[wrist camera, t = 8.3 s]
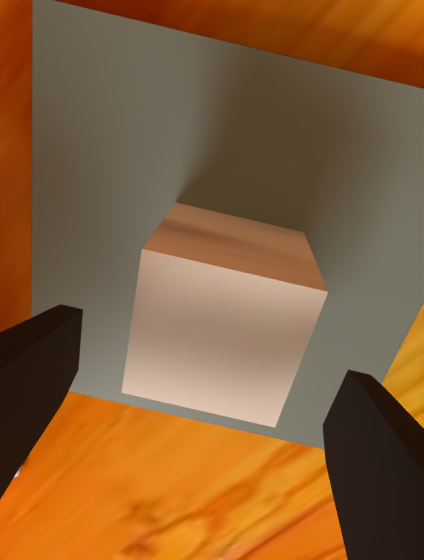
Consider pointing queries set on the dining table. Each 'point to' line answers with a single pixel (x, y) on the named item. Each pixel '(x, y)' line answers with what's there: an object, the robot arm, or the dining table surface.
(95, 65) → the board
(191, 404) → the cream cube
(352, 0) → the dining table surface
